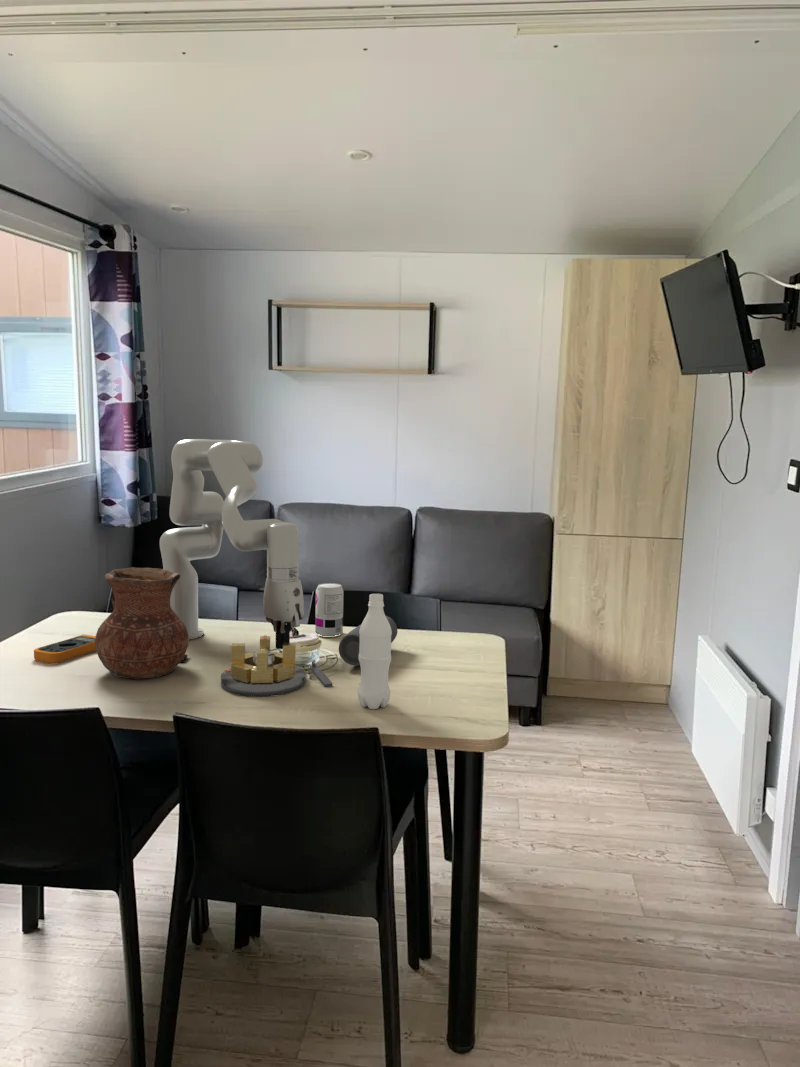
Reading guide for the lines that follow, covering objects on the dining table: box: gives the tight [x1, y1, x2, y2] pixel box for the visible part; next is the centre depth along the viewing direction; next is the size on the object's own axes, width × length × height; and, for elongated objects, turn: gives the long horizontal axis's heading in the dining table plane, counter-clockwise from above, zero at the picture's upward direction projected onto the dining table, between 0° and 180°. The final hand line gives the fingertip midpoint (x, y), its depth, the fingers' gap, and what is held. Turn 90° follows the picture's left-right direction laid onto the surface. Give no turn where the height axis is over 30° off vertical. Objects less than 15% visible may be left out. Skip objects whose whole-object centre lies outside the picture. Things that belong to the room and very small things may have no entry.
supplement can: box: [314, 582, 344, 636], centre depth 227 cm, size 8×8×15 cm
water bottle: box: [357, 593, 392, 710], centre depth 167 cm, size 7×7×25 cm
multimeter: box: [33, 633, 96, 665], centre depth 201 cm, size 9×18×3 cm, turn 157°
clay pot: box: [95, 566, 190, 680], centre depth 187 cm, size 22×21×25 cm
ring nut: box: [230, 635, 297, 683], centre depth 181 cm, size 15×15×7 cm
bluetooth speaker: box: [338, 615, 398, 666], centre depth 204 cm, size 23×9×10 cm, turn 161°
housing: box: [220, 651, 307, 698], centre depth 182 cm, size 20×20×7 cm
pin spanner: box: [309, 659, 333, 688], centre depth 188 cm, size 16×2×3 cm, turn 20°
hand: (282, 647), depth 186 cm, fingers closed
